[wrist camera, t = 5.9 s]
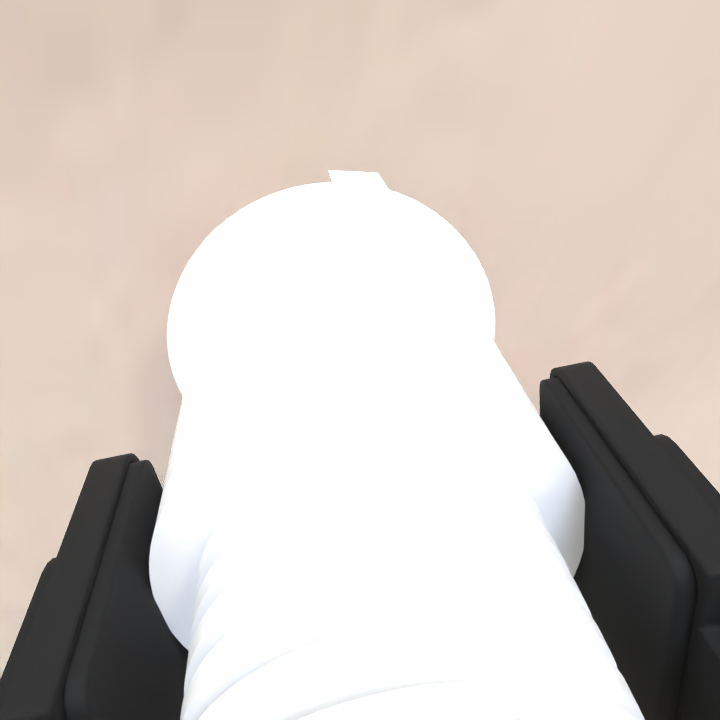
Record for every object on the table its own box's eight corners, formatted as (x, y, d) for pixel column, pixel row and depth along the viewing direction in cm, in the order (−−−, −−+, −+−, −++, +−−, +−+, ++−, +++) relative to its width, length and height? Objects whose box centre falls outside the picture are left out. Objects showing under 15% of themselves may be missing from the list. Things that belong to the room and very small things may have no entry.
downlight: (459, 475, 17) (656, 992, 8) (181, 479, 16) (74, 1073, 7) (521, 162, 13) (1032, 530, 4) (155, 141, 12) (-151, 570, 3)
